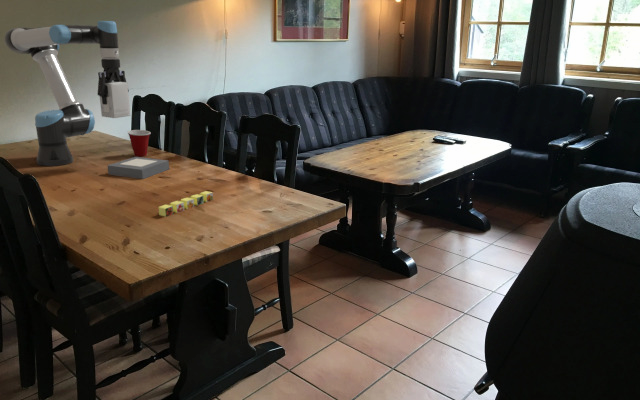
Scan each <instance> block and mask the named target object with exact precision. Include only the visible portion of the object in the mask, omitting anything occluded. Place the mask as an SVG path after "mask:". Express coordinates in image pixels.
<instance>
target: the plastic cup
mask: <svg viewBox="0 0 640 400" xmlns="http://www.w3.org/2000/svg"><path fill="white" fill-rule="evenodd" d="M127 134H128V137H129V139H130V144H131V147H132V152H133V155H134V157H142V158H143V157H147V156H148V155H147V154H148V148H149V139H150V136H151V134H152V133H151V131H148V130H144V129H143V130H141V129H133V130H128V131H127Z"/></svg>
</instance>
